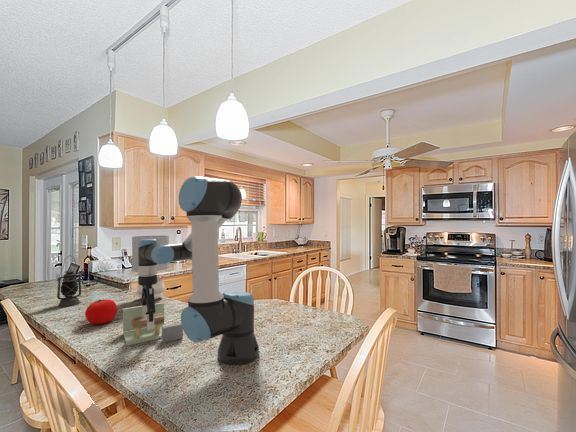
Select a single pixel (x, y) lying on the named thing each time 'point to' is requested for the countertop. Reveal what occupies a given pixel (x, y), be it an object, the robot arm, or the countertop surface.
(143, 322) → the shelf board
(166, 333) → the block
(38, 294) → the countertop surface
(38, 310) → the countertop surface
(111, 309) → the tomato
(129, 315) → the cabinet
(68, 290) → the lantern
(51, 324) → the countertop surface
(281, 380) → the countertop surface
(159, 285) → the lamp
